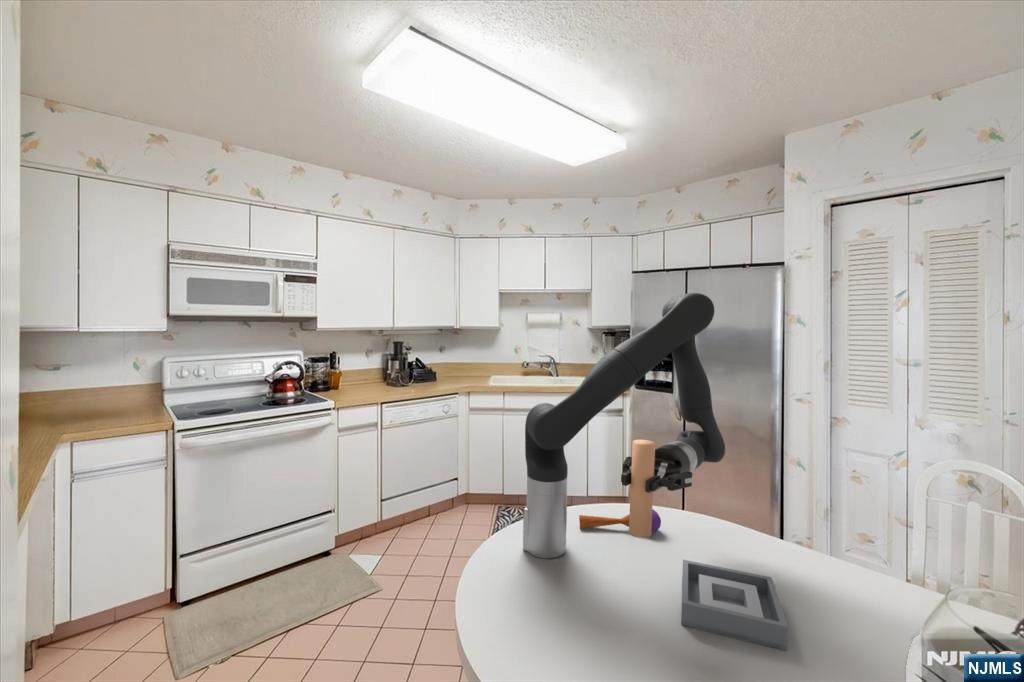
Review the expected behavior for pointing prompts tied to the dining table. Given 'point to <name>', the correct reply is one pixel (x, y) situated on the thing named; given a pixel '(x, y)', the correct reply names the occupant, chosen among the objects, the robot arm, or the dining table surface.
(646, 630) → the dining table surface
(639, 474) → the peg
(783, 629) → the box
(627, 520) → the kendama
